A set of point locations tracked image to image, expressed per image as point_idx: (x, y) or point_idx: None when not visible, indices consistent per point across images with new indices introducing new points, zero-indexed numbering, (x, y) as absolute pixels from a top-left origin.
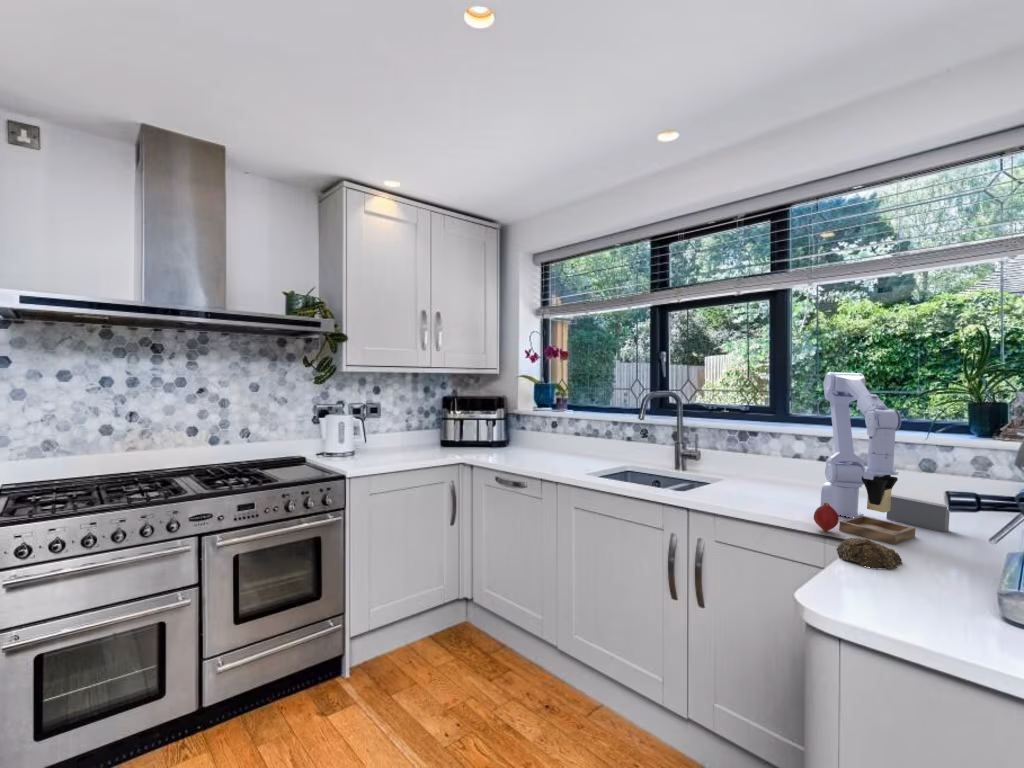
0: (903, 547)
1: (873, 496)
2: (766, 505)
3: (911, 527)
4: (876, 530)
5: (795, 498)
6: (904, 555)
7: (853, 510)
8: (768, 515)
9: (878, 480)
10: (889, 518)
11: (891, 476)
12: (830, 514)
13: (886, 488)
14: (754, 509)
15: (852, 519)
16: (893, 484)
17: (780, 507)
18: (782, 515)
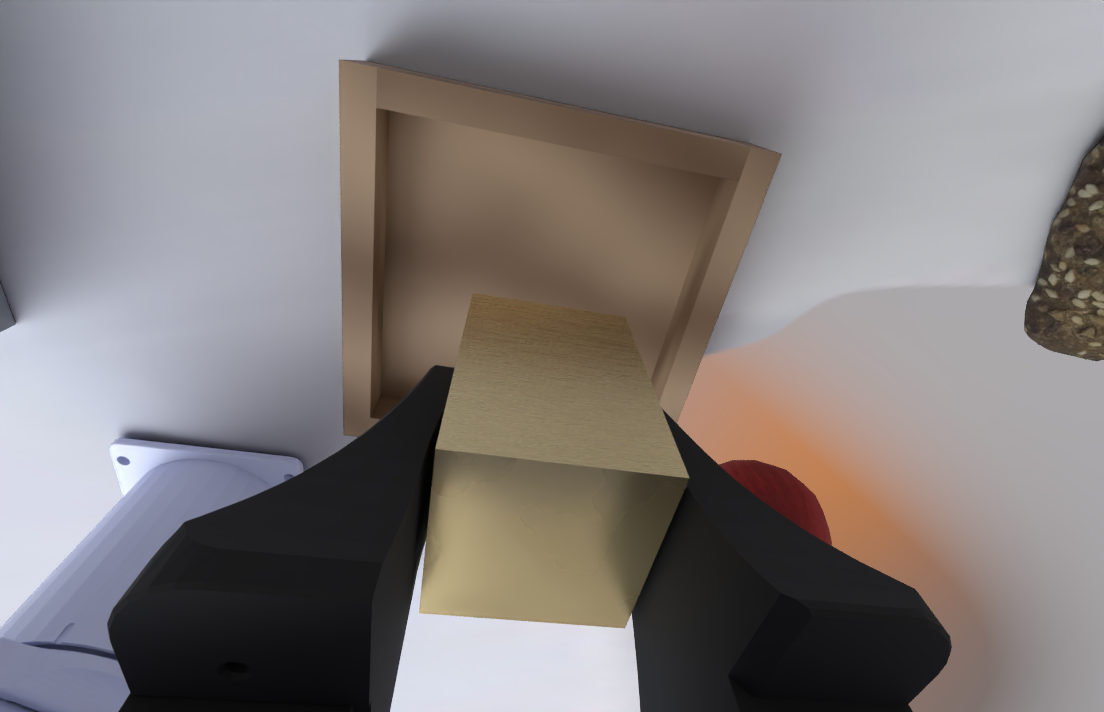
0: (781, 78)
1: None
2: (454, 703)
3: (362, 91)
4: (725, 280)
5: None
6: (1005, 34)
7: (223, 492)
8: (630, 656)
9: (872, 695)
10: (2, 308)
11: (132, 685)
12: (826, 534)
13: (497, 494)
14: (574, 702)
15: None
16: (324, 492)
17: (430, 673)
18: (577, 633)
